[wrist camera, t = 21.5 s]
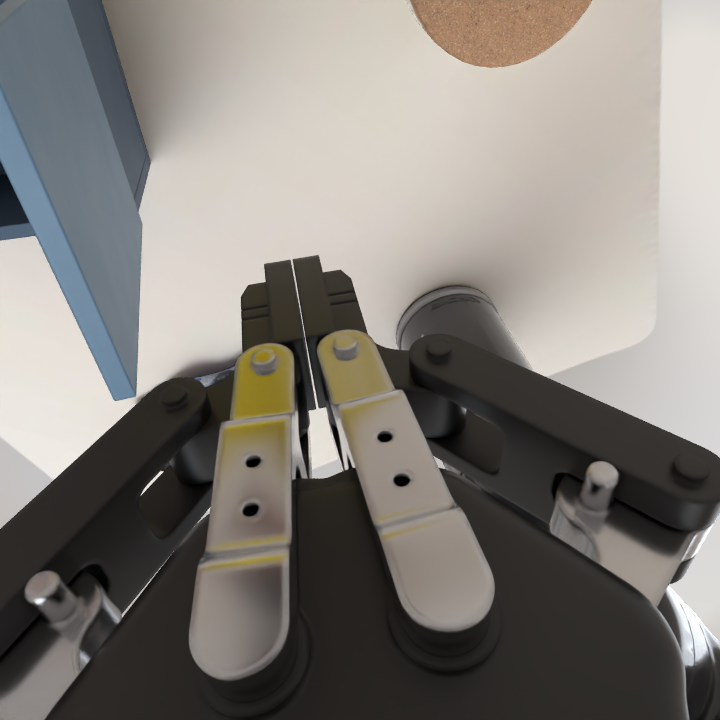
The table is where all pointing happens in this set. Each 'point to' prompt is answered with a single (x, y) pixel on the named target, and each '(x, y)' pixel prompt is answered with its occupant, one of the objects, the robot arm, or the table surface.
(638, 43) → the table surface
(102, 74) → the storage box
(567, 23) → the trinket box
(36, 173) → the lid
